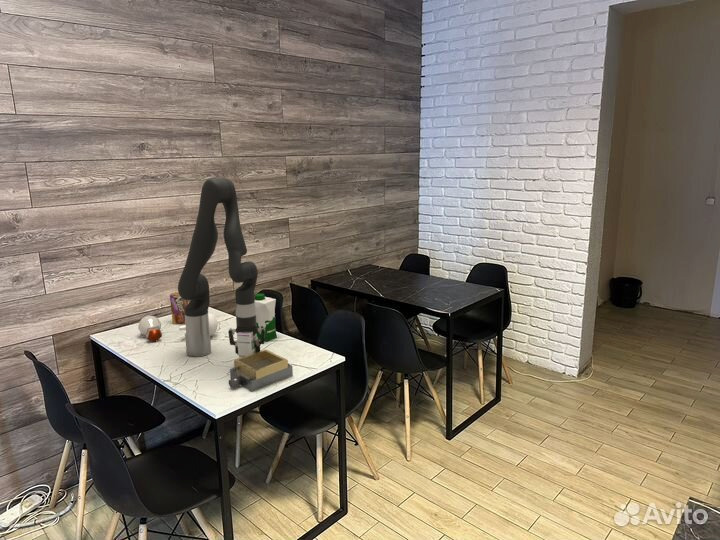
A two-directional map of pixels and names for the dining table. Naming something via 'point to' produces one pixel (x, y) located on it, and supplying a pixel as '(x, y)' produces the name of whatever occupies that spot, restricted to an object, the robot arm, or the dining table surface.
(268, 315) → the milk carton
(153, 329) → the potion bottle
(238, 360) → the wooden drawer tray
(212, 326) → the piggy bank
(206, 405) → the dining table surface
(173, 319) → the candy box
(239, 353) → the syrup box
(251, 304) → the robot arm
